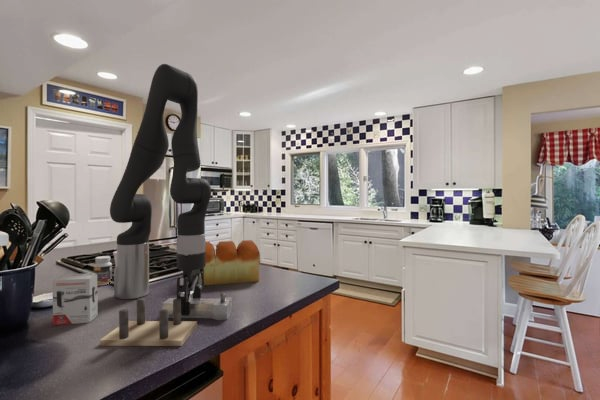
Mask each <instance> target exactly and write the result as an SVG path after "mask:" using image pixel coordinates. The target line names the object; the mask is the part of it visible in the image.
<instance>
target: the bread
mask: <svg viewBox="0 0 600 400" xmlns="http://www.w3.org/2000/svg"><path fill="white" fill-rule="evenodd" d="M260 263H261V254H260V250H259V247H258V246H257V244H256V243H255V242H254V241H253V240H252V239H247V240H242V241H240V242H239V243H238V245H237V247H236V244H235V241H233V240H227V241H226V240H223V241H219V242H218V243H217V244H216V247H214V244H213V243H211V242H210V241H206V265H205V267H204V286H211V285H225V284H237V283H238V284H241V283H253V282H260Z"/></svg>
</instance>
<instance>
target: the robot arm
mask: <svg viewBox="0 0 600 400" xmlns="http://www.w3.org/2000/svg"><path fill="white" fill-rule="evenodd" d="M198 90H199V89H198V83H197V81H196V78H195V77H194V76H193V75H192V74H190V73H188V72H186V71H184V70H181V69H179V68H176V67H175V66H172V65H170V64H166V63H162V64H160V65H159V66H158V67H157V69H155V71H154V73H153V76H152V80H151V84H150V88H149V92H148V96H147V100H146V101H147V102H146V105H145V110H144V114H143V116H142V119H141V123H140V126H139V128H138V131H137V134H136V136H135V139H134V141H133V145H132V148H131V152H130V154H129V159H128V161H127V163H126V164H127V165H126V166H125V169H124V172H123V175H122V177H121V179H120V182H119V183H118V185H117V188H116V190H115V192H114V194H113V197H112V199H111V202H110V207H109V215H110V218H111V220H112V221H114V223H117V224H118V223H119V224H125V223H126V224H128V223H131V226H130V227H129V228H128V229H126V230H124V231H123V232H120V233H119V234H118V235H117V237H116V251H117V267H116V266H115V267H114V269H113V298H117V299H121V300H132V299H140V298H143V297H145V296H147V295H148V294H150V249H149V248H150V236H151V231H152V214H153V213H152V211H153V209H152V208H153V207H152V202H151V199H150V197H149V196H148V195H146V194H143V193H137V192H138V190H139V189H140V187H142V185H143V184H144V183H145V182H146V181H147V180H149V179H150V178H151V177H153V175H154V174H155V173H156V172H157V171H158V170H159V169H160V168H161V167H162V165H163V163H164V161H165V159H166V155H167V153H168V152H169V151H168V150H169V146H170V143H169V138H168V137H169V136H168V132H167V129H166V126H165V121H164V114H165V108H166V105H167V102H168V101H169V102H172V103H176V104H179V107H180V112H181V115H180V116H181V117H180V120H179V122H178V124H177V126H176V128H175V130H173V131H174V132H173V134H172V136H171V151H172V152H171V153H172V154H171V155H172V161H173V169H172V176H171V177H172V178H171V182H170V188H169V194H170V197H171V198H172V200H173V201H174V202H175V203H177V204H179V205H181V204H182V205H183V204H184V205H188V204H189V205H190V204H193V205H192V207H191V209H190V210H188V211H185V212H182V213H180V214H179V215H178V216H177V239H176V269H178V270H179V271H182V276H181V277H177V278H176V298H180V299H181V315H182V316H188V315H189V314H190V299H191V298H202V290H203V287H204V286H205V285H204V267H205V265H206V242H207V241H206V234H205V233H206V232H205V231H206V230H205V226H206V225H205V222H206V215H207V211H208V206H209V203H210V200H211V196H212V187H211V185H210V183H209V181H208V180H207V179H205V178H200V177H196V178H195V177H187V173H189V172H195V171H197V170H199V169H200V167H201V157H200V155H201V154H200V149H199V143H198V128H197V126H198V96H199V95H198V94H199V93H198Z"/></svg>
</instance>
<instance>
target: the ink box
mask: <svg viewBox="0 0 600 400" xmlns="http://www.w3.org/2000/svg"><path fill="white" fill-rule="evenodd" d="M51 281H52V282H51V283H52V324H53V326H61V325H73V324H74V325H75V324H89V323H91V322H92V321H93V320H94V319H96V317H98V314H99V313H98V311H99V310H98V308H99V307H98V303H99V302H98V301H99V300H98V298H99V297H98V286H97V274H95V273H94V272H91V273H89V272H88V273H85V272H84V273H68V274H66V273H65V274H62V275H60V276H58V277H56V278H55V279H53V280H51Z"/></svg>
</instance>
